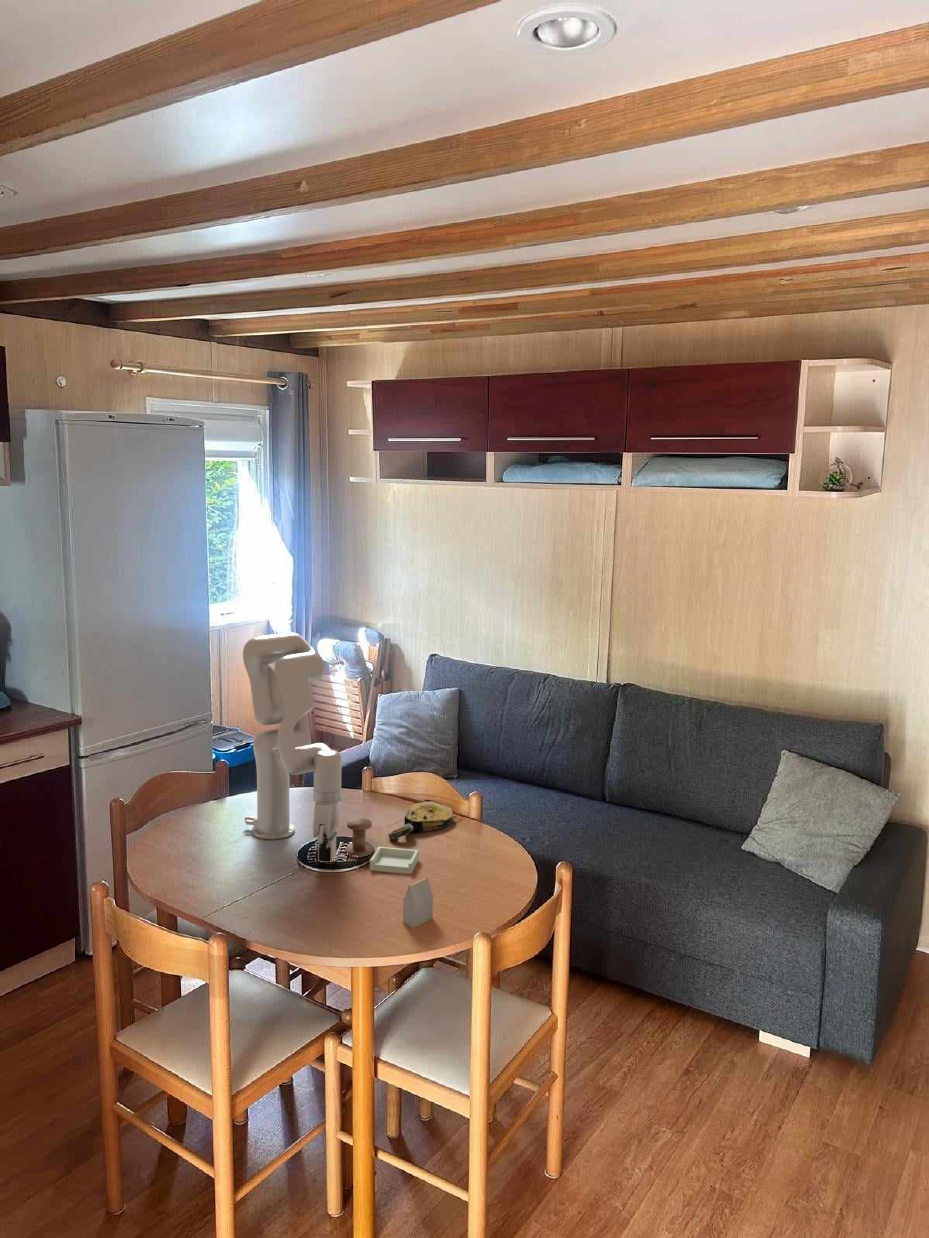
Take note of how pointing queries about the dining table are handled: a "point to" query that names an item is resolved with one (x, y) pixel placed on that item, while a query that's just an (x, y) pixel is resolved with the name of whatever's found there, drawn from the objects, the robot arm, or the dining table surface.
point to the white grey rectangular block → (333, 847)
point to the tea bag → (418, 903)
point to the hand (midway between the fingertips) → (327, 856)
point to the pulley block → (424, 819)
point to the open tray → (394, 860)
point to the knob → (359, 837)
